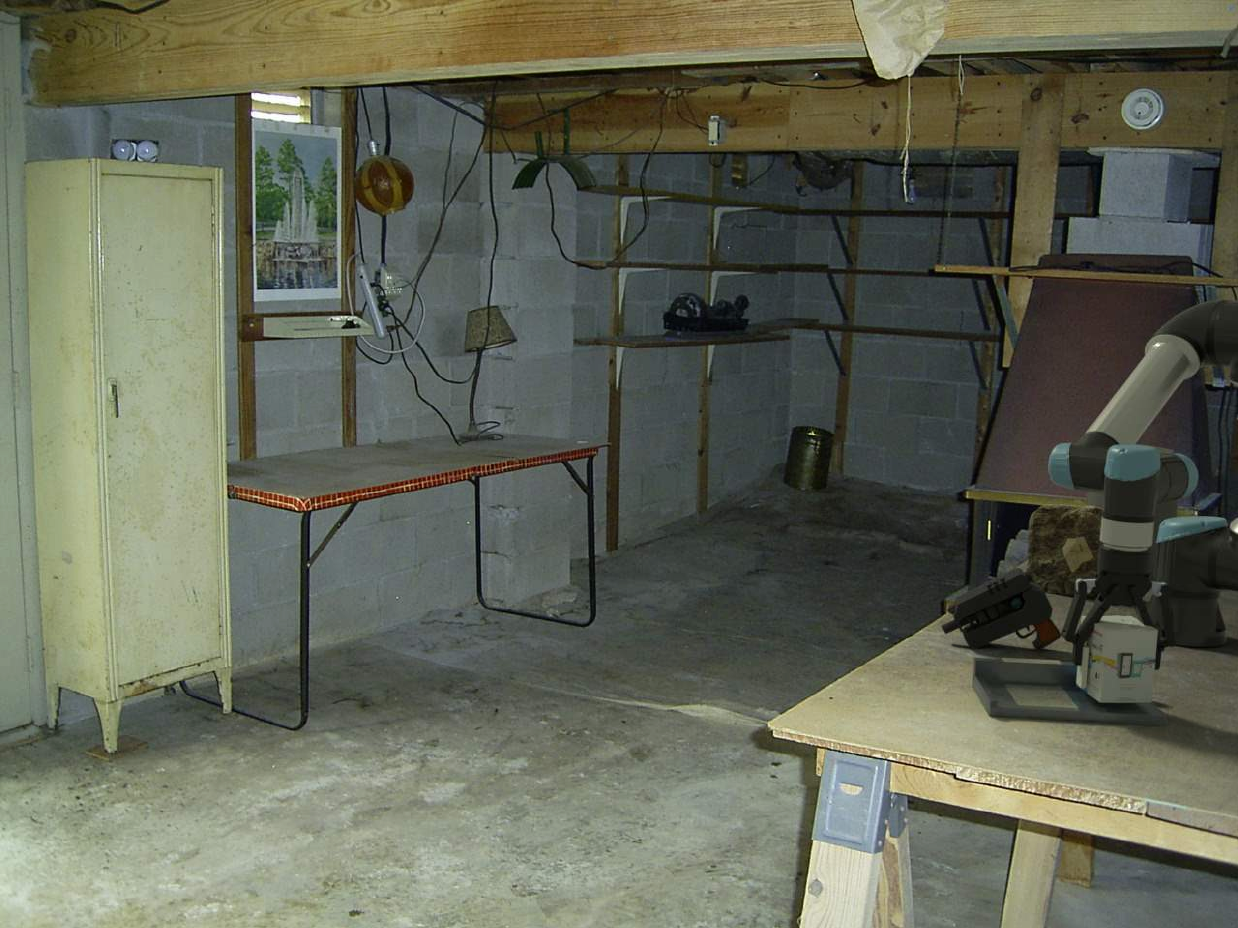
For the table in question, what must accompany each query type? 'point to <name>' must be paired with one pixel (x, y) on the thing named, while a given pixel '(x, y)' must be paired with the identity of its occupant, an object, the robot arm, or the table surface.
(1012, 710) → the tray
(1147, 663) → the ink box
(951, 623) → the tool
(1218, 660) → the table surface
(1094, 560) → the stone block
